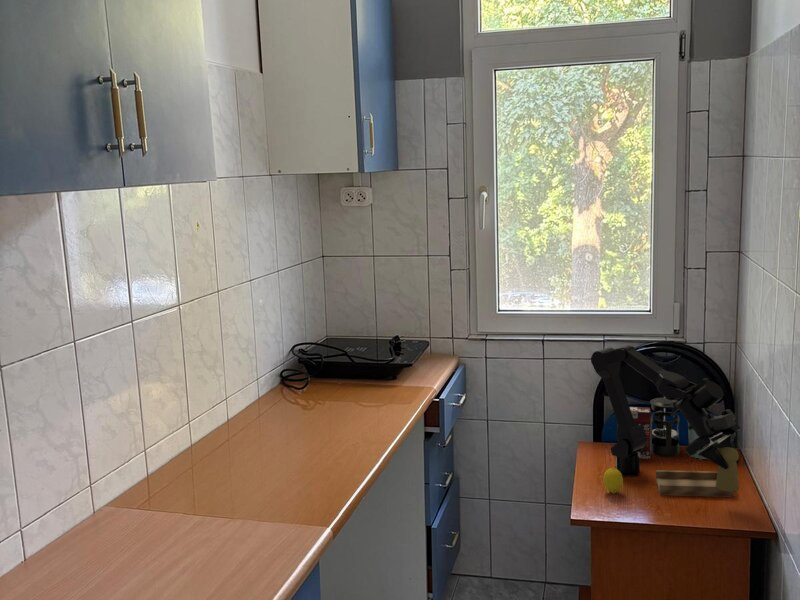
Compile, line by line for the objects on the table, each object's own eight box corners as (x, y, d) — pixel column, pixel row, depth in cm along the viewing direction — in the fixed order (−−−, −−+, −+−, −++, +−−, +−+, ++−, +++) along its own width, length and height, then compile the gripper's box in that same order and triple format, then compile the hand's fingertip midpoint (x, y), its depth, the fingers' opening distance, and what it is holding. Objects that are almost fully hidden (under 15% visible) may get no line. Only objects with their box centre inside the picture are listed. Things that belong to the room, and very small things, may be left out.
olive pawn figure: (741, 491, 214) (742, 453, 212) (717, 491, 216) (718, 453, 213) (736, 482, 220) (738, 444, 218) (713, 481, 221) (714, 444, 219)
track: (659, 494, 229) (659, 485, 228) (655, 479, 239) (655, 470, 238) (733, 497, 225) (733, 487, 224) (726, 481, 235) (726, 471, 234)
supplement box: (622, 458, 256) (622, 411, 252) (622, 452, 260) (622, 406, 257) (651, 459, 254) (651, 411, 250) (649, 453, 258) (650, 406, 255)
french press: (684, 457, 253) (685, 388, 249) (654, 458, 254) (654, 389, 249) (672, 443, 265) (673, 377, 260) (644, 444, 265) (644, 378, 261)
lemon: (623, 490, 234) (623, 464, 232) (622, 498, 228) (622, 472, 227) (604, 488, 235) (603, 463, 234) (602, 496, 230) (602, 470, 229)
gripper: (696, 411, 211) (734, 462, 204) (735, 394, 222) (771, 442, 215) (670, 431, 218) (705, 481, 212) (708, 413, 229) (743, 460, 223)
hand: (732, 465), depth 215 cm, fingers closed on olive pawn figure, 5 cm apart
